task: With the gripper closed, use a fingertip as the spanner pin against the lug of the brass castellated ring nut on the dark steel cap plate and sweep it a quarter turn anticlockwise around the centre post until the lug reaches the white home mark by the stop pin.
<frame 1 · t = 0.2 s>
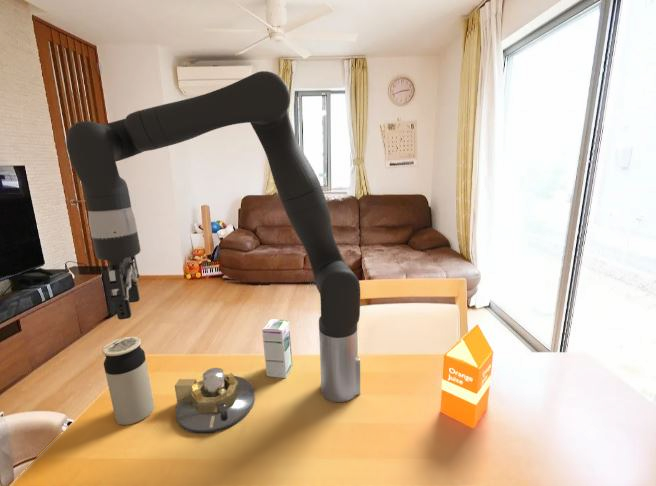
hand: (129, 309, 68), 28 cm above the table, fingers open, 8 cm apart
ring nut: (206, 390, 80), point 4 cm above the table, hinge at 0.0°
travel mug: (135, 413, 79), on the table
orange juice: (463, 409, 77), on the table
cap plate: (216, 404, 81), on the table
syrup box: (279, 371, 93), on the table
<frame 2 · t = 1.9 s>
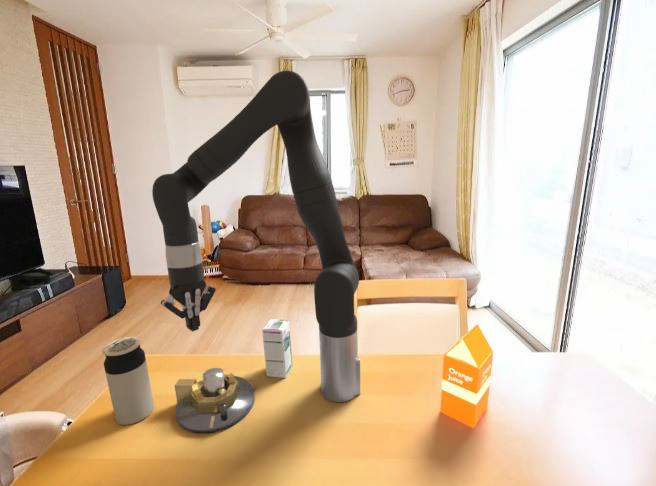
hand: (193, 329, 81), 18 cm above the table, fingers closed
nothing on the table moved.
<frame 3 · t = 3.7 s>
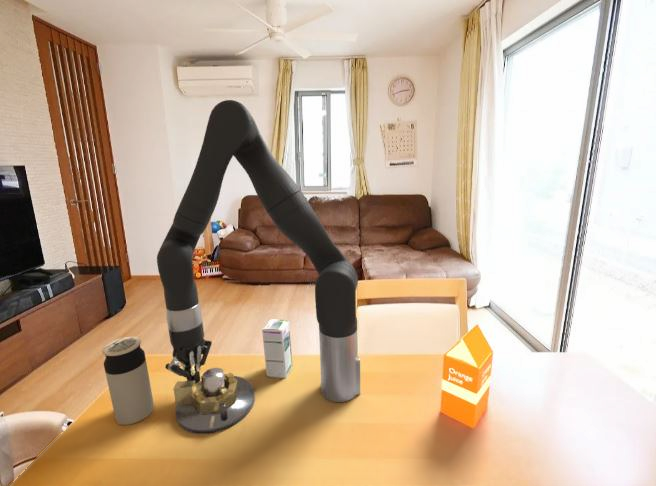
hand: (194, 385, 83), 3 cm above the table, fingers closed
ring nut: (206, 390, 80), point 4 cm above the table, hinge at 6.1°, touching gripper
everything else where it was.
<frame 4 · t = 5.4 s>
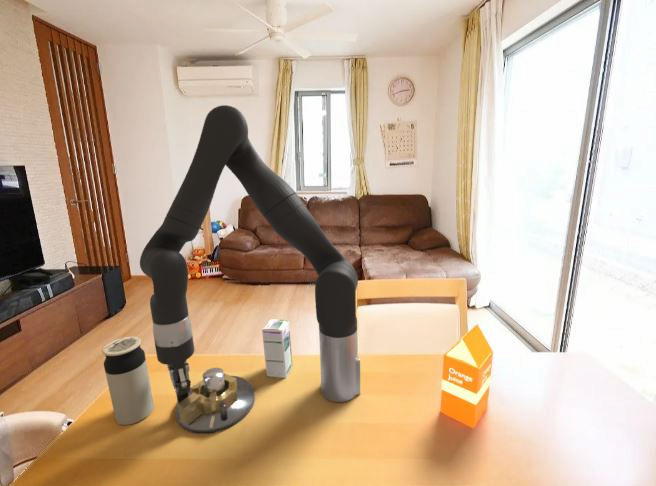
hand: (183, 403, 77), 3 cm above the table, fingers closed
ring nut: (208, 395, 78), point 4 cm above the table, hinge at 61.0°, touching gripper
everything else where it was.
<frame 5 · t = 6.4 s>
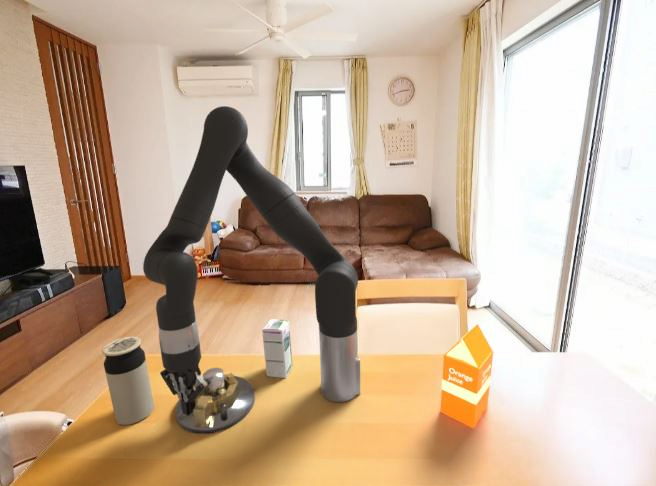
hand: (189, 412, 74), 3 cm above the table, fingers closed
ring nut: (212, 396, 78), point 4 cm above the table, hinge at 89.8°, touching gripper
everything else where it was.
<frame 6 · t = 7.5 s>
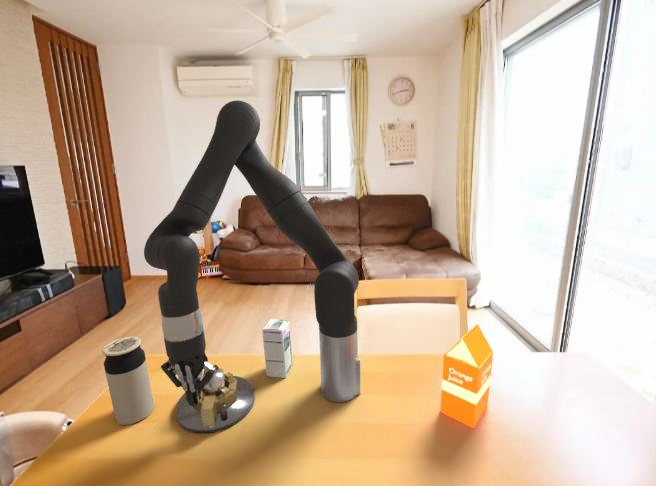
hand: (195, 403, 72), 7 cm above the table, fingers closed
ring nut: (213, 395, 78), point 4 cm above the table, hinge at 100.2°, touching cap plate
everything else where it was.
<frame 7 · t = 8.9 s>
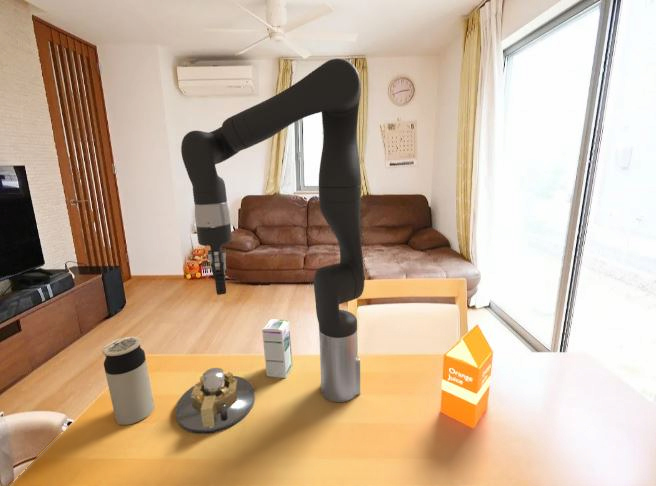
hand: (221, 293, 81), 26 cm above the table, fingers closed
nothing on the table moved.
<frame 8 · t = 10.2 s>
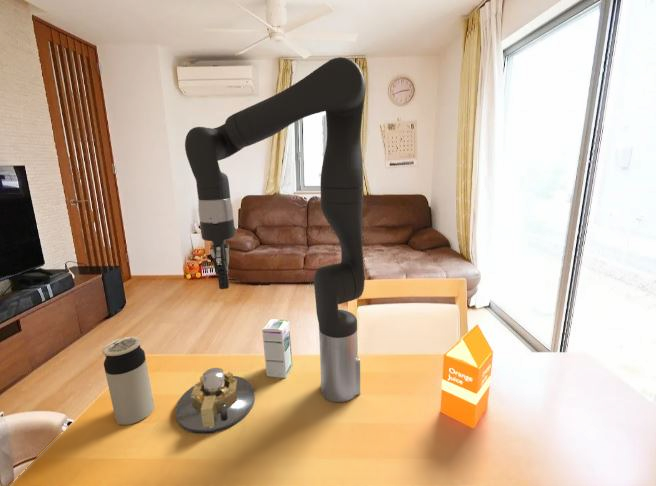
hand: (224, 287, 82), 27 cm above the table, fingers closed
nothing on the table moved.
at the end: ring nut at +100° (first picture: +0°) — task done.
